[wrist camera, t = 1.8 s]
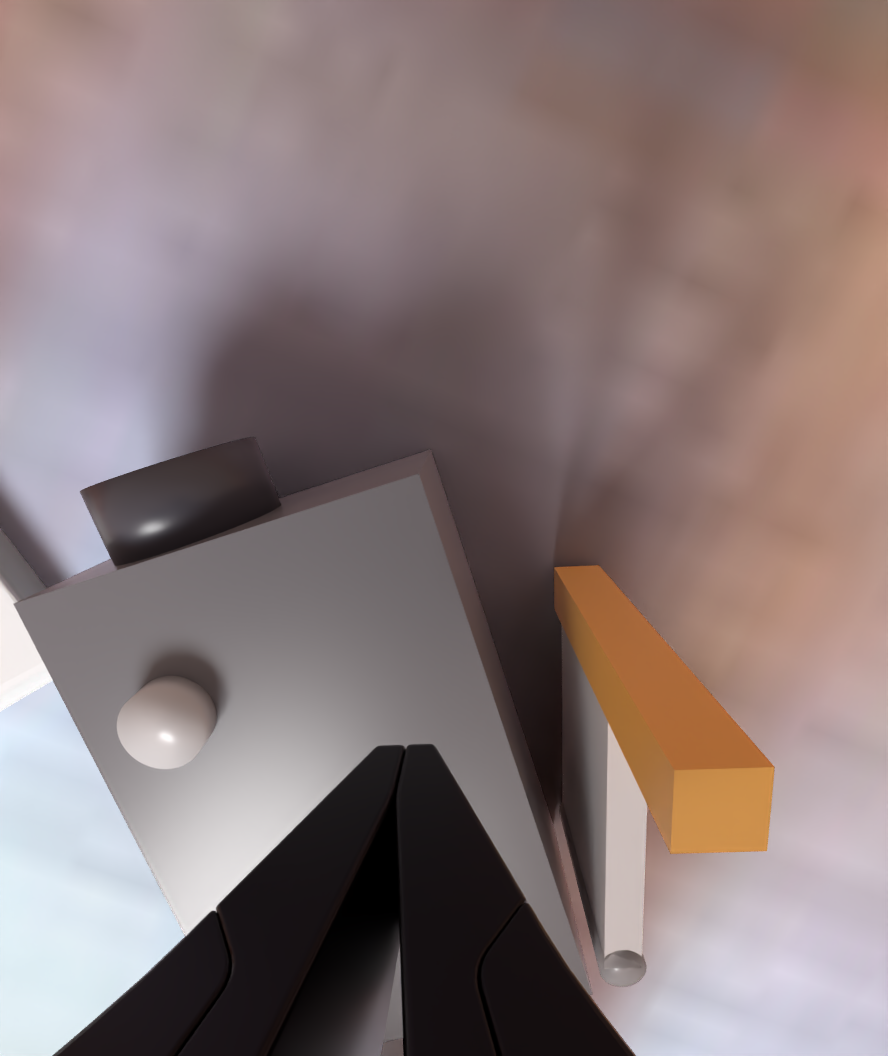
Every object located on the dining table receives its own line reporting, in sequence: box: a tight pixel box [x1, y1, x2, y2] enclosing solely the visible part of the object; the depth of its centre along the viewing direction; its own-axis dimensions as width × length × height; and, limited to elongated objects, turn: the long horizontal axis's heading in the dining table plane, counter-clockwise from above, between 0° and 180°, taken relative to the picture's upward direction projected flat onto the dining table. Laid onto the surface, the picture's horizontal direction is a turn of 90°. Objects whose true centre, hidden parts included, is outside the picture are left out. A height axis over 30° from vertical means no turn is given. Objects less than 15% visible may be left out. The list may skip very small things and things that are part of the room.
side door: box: [554, 565, 775, 987], centre depth 12 cm, size 8×1×8 cm, turn 3°
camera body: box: [14, 437, 592, 1042], centre depth 13 cm, size 14×8×6 cm, turn 18°
